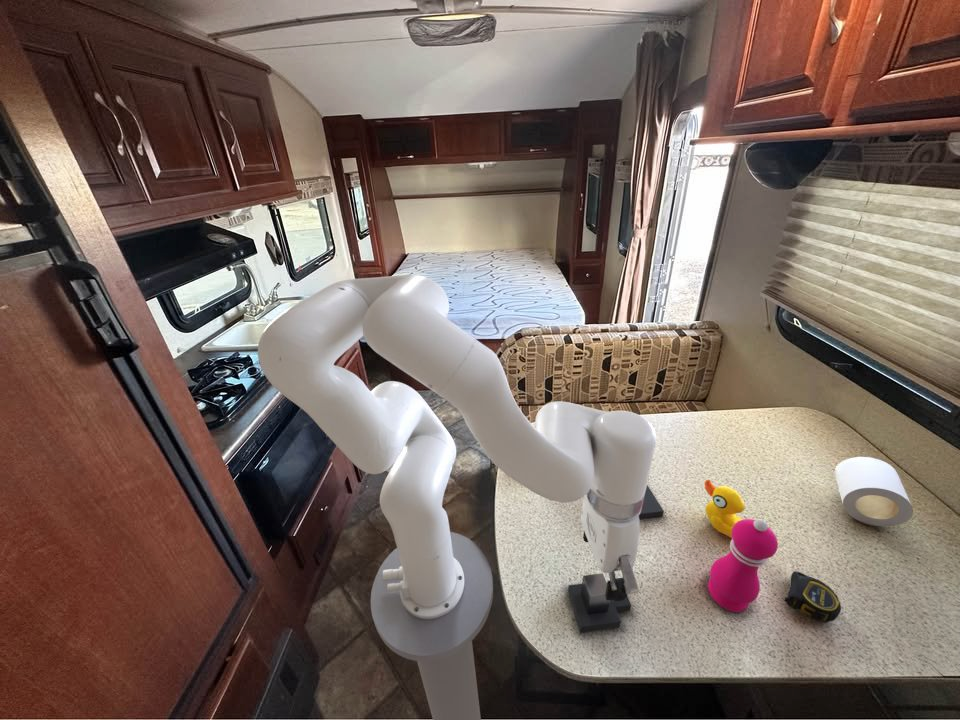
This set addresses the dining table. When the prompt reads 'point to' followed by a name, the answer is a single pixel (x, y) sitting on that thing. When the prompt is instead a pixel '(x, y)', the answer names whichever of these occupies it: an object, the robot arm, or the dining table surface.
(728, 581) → the pepper mill
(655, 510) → the base pad
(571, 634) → the dining table surface
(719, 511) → the duckling
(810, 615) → the tape measure
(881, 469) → the toilet paper
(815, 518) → the dining table surface
